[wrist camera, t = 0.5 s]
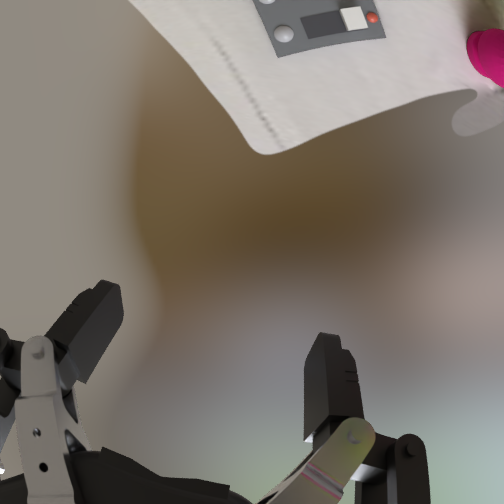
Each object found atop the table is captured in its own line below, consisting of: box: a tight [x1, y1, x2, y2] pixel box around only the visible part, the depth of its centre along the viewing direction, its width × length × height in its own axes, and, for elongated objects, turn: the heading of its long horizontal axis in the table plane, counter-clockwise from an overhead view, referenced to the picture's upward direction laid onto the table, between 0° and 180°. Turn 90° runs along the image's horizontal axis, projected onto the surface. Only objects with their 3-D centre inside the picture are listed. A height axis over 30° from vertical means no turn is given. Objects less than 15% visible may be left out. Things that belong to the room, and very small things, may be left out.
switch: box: [339, 6, 368, 31], centre depth 18 cm, size 2×2×2 cm
